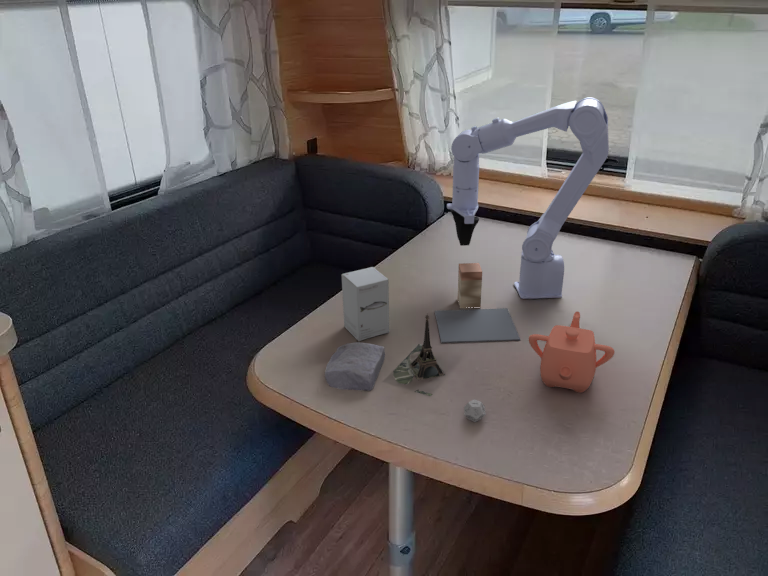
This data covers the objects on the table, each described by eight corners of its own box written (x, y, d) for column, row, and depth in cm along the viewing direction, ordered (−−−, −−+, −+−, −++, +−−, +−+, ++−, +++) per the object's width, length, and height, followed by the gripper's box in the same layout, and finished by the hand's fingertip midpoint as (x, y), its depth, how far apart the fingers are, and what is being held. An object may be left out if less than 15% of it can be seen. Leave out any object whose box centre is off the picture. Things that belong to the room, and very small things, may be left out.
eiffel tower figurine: (418, 345, 127) (418, 286, 121) (465, 358, 122) (467, 297, 116) (382, 384, 115) (380, 321, 109) (432, 400, 111) (433, 335, 105)
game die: (465, 409, 107) (465, 395, 106) (487, 413, 106) (487, 398, 105) (461, 422, 104) (462, 408, 103) (483, 426, 103) (484, 411, 102)
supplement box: (358, 342, 127) (355, 287, 122) (343, 326, 133) (340, 272, 127) (390, 333, 130) (389, 278, 125) (374, 318, 136) (372, 265, 130)
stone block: (324, 396, 115) (376, 392, 112) (317, 374, 113) (370, 369, 110) (341, 362, 125) (389, 358, 122) (335, 341, 123) (384, 337, 121)
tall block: (477, 298, 143) (478, 262, 139) (480, 308, 139) (482, 271, 135) (457, 299, 143) (458, 263, 139) (460, 308, 139) (461, 272, 135)
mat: (507, 309, 138) (507, 308, 138) (520, 340, 127) (520, 339, 126) (434, 311, 138) (434, 310, 138) (441, 343, 126) (441, 341, 126)
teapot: (618, 394, 110) (627, 345, 105) (559, 409, 107) (565, 358, 102) (572, 353, 122) (578, 307, 117) (518, 365, 119) (521, 318, 114)
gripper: (444, 176, 146) (442, 231, 152) (451, 196, 133) (450, 255, 139) (474, 175, 146) (471, 230, 153) (484, 195, 133) (481, 254, 140)
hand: (463, 242), depth 146 cm, fingers open, 3 cm apart
